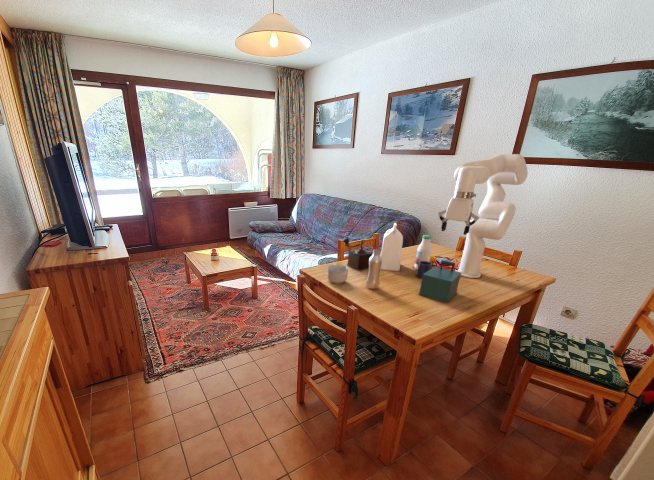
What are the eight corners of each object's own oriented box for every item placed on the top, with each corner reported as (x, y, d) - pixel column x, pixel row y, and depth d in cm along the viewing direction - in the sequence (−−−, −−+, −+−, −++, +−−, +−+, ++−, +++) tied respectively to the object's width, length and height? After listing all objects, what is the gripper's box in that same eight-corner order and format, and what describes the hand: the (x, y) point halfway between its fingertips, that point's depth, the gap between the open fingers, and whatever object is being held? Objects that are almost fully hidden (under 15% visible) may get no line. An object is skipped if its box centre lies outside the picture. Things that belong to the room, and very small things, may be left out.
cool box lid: (434, 267, 157) (436, 257, 155) (461, 273, 149) (464, 263, 147) (422, 276, 147) (424, 265, 145) (451, 283, 139) (454, 272, 137)
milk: (399, 270, 180) (406, 227, 170) (378, 268, 184) (384, 225, 174) (399, 264, 191) (405, 222, 181) (379, 262, 194) (385, 221, 184)
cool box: (429, 285, 160) (433, 268, 156) (456, 293, 152) (460, 274, 148) (419, 294, 150) (422, 276, 147) (446, 302, 142) (451, 283, 139)
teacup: (346, 286, 160) (348, 271, 157) (325, 284, 162) (326, 270, 159) (346, 276, 172) (348, 263, 169) (327, 275, 174) (328, 261, 171)
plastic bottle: (378, 286, 160) (384, 249, 152) (378, 291, 154) (383, 253, 146) (366, 284, 162) (370, 247, 154) (365, 289, 156) (369, 251, 148)
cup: (421, 273, 176) (423, 260, 173) (431, 277, 171) (434, 263, 168) (414, 275, 173) (416, 262, 170) (424, 279, 168) (427, 265, 165)
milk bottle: (429, 267, 186) (435, 235, 178) (426, 271, 180) (433, 237, 172) (415, 265, 190) (421, 233, 182) (412, 268, 184) (418, 236, 176)
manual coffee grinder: (360, 262, 194) (363, 234, 187) (371, 268, 185) (375, 238, 178) (339, 266, 188) (341, 237, 181) (350, 272, 179) (353, 241, 172)
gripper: (486, 196, 137) (476, 234, 144) (445, 193, 149) (438, 228, 155) (481, 198, 132) (471, 237, 139) (439, 194, 144) (432, 230, 150)
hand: (454, 232), depth 147 cm, fingers open, 9 cm apart
